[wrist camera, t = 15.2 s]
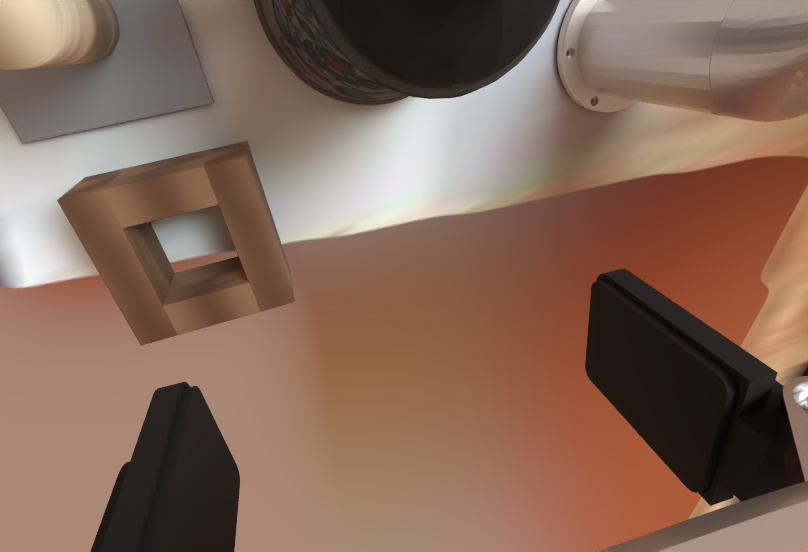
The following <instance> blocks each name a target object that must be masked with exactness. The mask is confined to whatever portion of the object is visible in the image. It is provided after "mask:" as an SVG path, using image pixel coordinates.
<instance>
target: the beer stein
mask: <svg viewBox="0 0 808 552" xmlns="http://www.w3.org/2000/svg"><path fill="white" fill-rule="evenodd" d="M559 1H560V0H254V4H255V7H256V11H257V14H258V17H259V20H260V22H261V25H262V27H263V30H264V32H265V34H266V36H267V37H268V39H269V41H270V43H271V44H272V46H273V48H274V49H275V51H276V52H277V53H278V55H279V56H280V58H281V59H282V60H283V62H284V63H285V64H286V65H287V66H288V67H289V68H290V69H291V70H292V71H293V72H294V73H295V74H296V75H297V76H298V77H299V78H300V79H301V80H302V81H304V82H305V83H306V84H308V85H309V86H310V87H312V88H313V89H315V90H316V91H318V92H320V93H322V94H324V95H326V96H328V97H331V98H334V99H337V100H340V101H343V102H347V103H352V104H361V105H378V104H386V103H391V102H395V101H398V100H401V99H403V98H406V97H408V96H412V97H419V98H427V99H436V98H453V97H459V96H463V95H465V94H468V93H471V92H473V91H476V90H478V89H480V88H482V87H485V86H487V85H489V84H491V83H493V82H495V81H496V80H498V79H499V78H501V77H502V76H503V75H505V74H506V73H507V72H508V71H510V70H511V69H512V68H513V67H515V66H516V65H517V64H518V63H519V62H520V61H521V60H522V59H523V58H524V57H525V56H526V55H527V54H528V53H529V51H530V50H531V49H532V48H533V46H534V45H535V44H536V43H537V41H538V40H539V39H540V37H541V36H542V34H543V33H544V32H545V30H546V29H547V27H548V25H549V23H550V21H551V19H552V17H553V15H554V13H555V11H556V9H557V6H558V4H559Z"/></svg>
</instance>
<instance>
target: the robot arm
mask: <svg viewBox="0 0 808 552" xmlns="http://www.w3.org/2000/svg"><path fill="white" fill-rule="evenodd" d="M566 52H567V54H566ZM557 62H558V70H559V74H560V78H561V81H562V84H563V86H564V88H565V89H566V91H567V93H568V94H569V96H570V97H571V98H572V99H573V100H574V101H575V102H576V103H578V104H579V105H581V106H582V107H584V108H587V109H589V110H592V111H597V112H615V111H620V110H623V109H625V108H627V107H630V106H632V105H634V104H635V103H637V102H638V101H641V102H646V103H652V104H658V105H663V106H669V107H675V108H681V109H686V110H692V111H698V112H704V113H709V114H715V115H721V116H727V117H733V118H739V119H745V120H751V121H760V122H771V121H781V120H787V119H792V118H795V117H799V116H802V115H804V114H807V113H808V0H573V1H572V3H571V5H570V7H569V9H568V11H567V13H566V15H565V18H564V21H563V24H562V27H561V30H560V35H559V40H558V49H557ZM585 368H586V372H587V375H588V377H589V379H590V380H591V381H592V382H593V384H594V385H595V386H596V387H597V388H598V389H599V390H600V391H601V392H602V394H603V395H604V396H605V397H606V398H607V399H608V400H609V401H610V402H611V404H612V405H613V406H614V407H615V408H616V409H617V410H618V411H619V412H620V414H621V415H622V416H623V417H624V418H625V419H626V420H627V421H628V423H630V425H631V426H632V427H633V428H634V429H635V430H636V431H637V433H638V434H639V435H640V436H641V437H642V438H643V439H644V440H645V441H646V443H647V444H648V445H649V446H650V447H651V448H652V449H653V450H654V451H655V453H656V454H657V455H658V456H659V457H660V458H661V459H662V460H663V462H664V463H665V464H666V465H667V466H668V467H669V468H670V469H671V470H672V472H673V473H674V474H675V475H676V476H677V477H678V478H679V479H680V480H681V482H682V483H683V484H684V485H685V486H686V487H687V488H688V489H689V490H691V491H692V492H698V493H699V494H700V495H701V496H702V497H703V498H704V499H705V500H706V502H707V503H708V504H709V505H710V506H711V505H714V504H717V503H720V502H723V501H725V500H728V499H731V498H733V496H734V495H735V496H736V497H737V498H738V499H739V500H740V501H741V502H739V503H736V504H733V505H730V506H727V507H724V508H721V509H718V510H715V511H712V512H709V513H706V514H703V515H701V516H698V517H695V518H692V519H689V520H686V521H683V522H681V523H678V524H675V525H672V526H669V527H666V528H663V529H660V530H657V531H654V532H651V533H649V534H646V535H643V536H640V537H637V538H634V539H632V540H629V541H625V542H623V543H620V544H617V545H614V546H611V547H608V548H606V549H603V550H600V551H597V552H808V376H804V377H796V378H794V379H791V380H789V381H788V382H787V383H786V384H785V385H784V386H783V385H781V384H780V383H778V382H777V381H776V380H775V379H776V376H777V372H776V371H774V370H773V369H771V368H770V367H768V366H767V365H765V364H764V363H763V362H761V361H760V360H758V359H757V358H755V357H754V356H752V355H751V354H749V353H748V352H746V351H745V350H743V349H742V348H741V347H739V346H738V345H736V344H735V343H733V342H732V341H730V340H729V339H727V338H726V337H724V336H723V335H721V334H720V333H718V332H717V331H715V330H714V329H713V328H711V327H709V326H708V325H707V324H705V323H704V322H702V321H701V320H699V319H698V318H696V317H695V316H693V315H692V314H691V313H689V312H688V311H686V310H685V309H683V308H682V307H680V306H679V305H677V304H676V303H674V302H673V301H672V300H670V299H669V298H667V297H665V296H664V295H663V294H661V293H660V292H658V291H657V290H656V289H654V288H653V287H651V286H650V285H648V284H647V283H645V282H644V281H642V280H641V279H639V278H638V277H636V276H635V275H633V274H632V273H630V272H629V271H627V270H625V269H620V270H615V271H612V272H608V273H604V274H601V275H599V276H598V278H597V281H596V282H594V283H593V285H592V288H591V300H590V313H589V326H588V339H587V350H586V364H585ZM239 488H240V476H239V471H238V467H237V465H236V463H235V461H234V459H233V457H232V455H231V453H230V451H229V449H228V446H227V444H226V443H225V440H224V438H223V436H222V434H221V432H220V430H219V428H218V426H217V424H216V422H215V420H214V418H213V416H212V414H211V411H210V409H209V407H208V405H207V403H206V401H205V399H204V397H203V395H202V393H201V391H200V389H199V388H198V387H197V386H193V387H190V386H189V385H188V384H187V383H186V382H182V383H178V384H174V385H170V386H167V387H162V388H159V389H157V390H155V392H154V394H153V397H152V401H151V403H150V406H149V409H148V412H147V415H146V417H145V420H144V423H143V426H142V429H141V432H140V435H139V438H138V441H137V444H136V446H135V449H134V452H133V455H132V458H131V461H130V462H127V463H126V464H124V465H123V466H122V468H121V470H120V472H119V474H118V477H117V480H116V482H115V485H114V488H113V491H112V494H111V496H110V499H109V502H108V505H107V508H106V510H105V513H104V516H103V518H102V522H101V524H100V527H99V530H98V532H97V535H96V538H95V541H94V544H93V546H92V549H91V552H234V548H235V536H236V523H237V512H238V499H239Z"/></svg>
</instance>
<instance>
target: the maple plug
mask: <svg viewBox="0 0 808 552" xmlns="http://www.w3.org/2000/svg"><path fill="white" fill-rule="evenodd" d="M119 35H120V28H119V21H118V17H117V15H116V12H115V10H114V8H113V6H112V5H111V3H110V2H109V0H0V69H1V70H15V69H27V68H38V67H50V66H61V65H72V64H84V63H93V62H98V61H101V60H103V59H105V58H106V57H108V56H109V55H110V54H111V53H112V52H113V51H114V49H115V48H116V46H117V43H118V40H119Z"/></svg>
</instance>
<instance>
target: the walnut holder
mask: <svg viewBox="0 0 808 552" xmlns="http://www.w3.org/2000/svg"><path fill="white" fill-rule="evenodd" d="M57 201H58V203H59V204H60V206H61V208H62V210H63V211H64V213H65V215H66V216H67V218H68V220H69V222H70V223H71V225H72V227H73V229H74V230H75V232H76V234H77V236H78V237H79V239H80V241H81V242H82V244H83V246H84V248H85V249H86V251H87V253H88V255H89V256H90V258H91V260H92V262H93V263H94V265H95V267H96V268H97V270H98V272H99V274H100V275H101V277H102V279H103V280H104V282H105V284H106V286H107V287H108V289H109V291H110V293H111V294H112V296H113V298H114V300H115V301H116V303H117V305H118V307H119V308H120V310H121V312H122V313H123V315H124V317H125V318H126V320H127V322H128V324H129V326H130V327H131V329H132V330H133V332H134V334H135V336H136V338H137V339H138V341H139V343H140V345H145V344H148V343H152V342H155V341H159V340H162V339H165V338H169V337H173V336H176V335H180V334H183V333H187V332H190V331H194V330H197V329H201V328H204V327H208V326H211V325H215V324H218V323H222V322H225V321H229V320H233V319H236V318H240V317H243V316H246V315H250V314H254V313H257V312H260V311H264V310H268V309H271V308H275V307H278V306H282V305H285V304H289V303H292V302H294V295H293V287H292V279H291V272H290V269H289V266H288V263H287V260H286V257H285V254H284V251H283V248H282V245H281V242H280V239H279V236H278V233H277V230H276V227H275V224H274V221H273V218H272V215H271V212H270V209H269V206H268V203H267V200H266V197H265V194H264V191H263V188H262V185H261V182H260V179H259V176H258V173H257V170H256V167H255V164H254V161H253V158H252V155H251V152H250V149H249V146H248V143H247V141H245V142H241V143H236V144H232V145H228V146H223V147H219V148H214V149H210V150H205V151H201V152H196V153H192V154H187V155H183V156H179V157H174V158H170V159H165V160H161V161H156V162H152V163H147V164H143V165H139V166H134V167H130V168H125V169H121V170H116V171H112V172H107V173H103V174H98V175H94V176H90V177H85V178H84V179H83V180H82V181H80V182H79V183H78V184H77V185H75V186H74V187H73V188H72V189H70V190H69V191H68V192H67V193H65V194H64V195H63V196H62V197H60V198H59V199H58V200H57ZM216 205H219V207H220V210H221V212H222V215H223V217H224V220H225V222H226V225H227V227H228V230H229V233H230V235H231V238H232V240H233V243H234V245H235V248H236V250H237V253H238V255H239V257H235V258H231V259H227V260H223V261H220V262H216V263H212V264H209V265H205V266H201V267H197V268H193V269H189V270H186V271H182V272H178V273H174V271H173V269H172V267H171V265H170V263H169V261H168V259H167V257H166V254H165V252H164V250H163V248H162V246H161V244H160V242H159V240H158V238H157V236H156V234H155V232H154V230H153V227H152V225H151V223H150V221H154V220H158V219H162V218H167V217H171V216H175V215H179V214H183V213H187V212H191V211H195V210H199V209H203V208H208V207H212V206H216Z"/></svg>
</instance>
